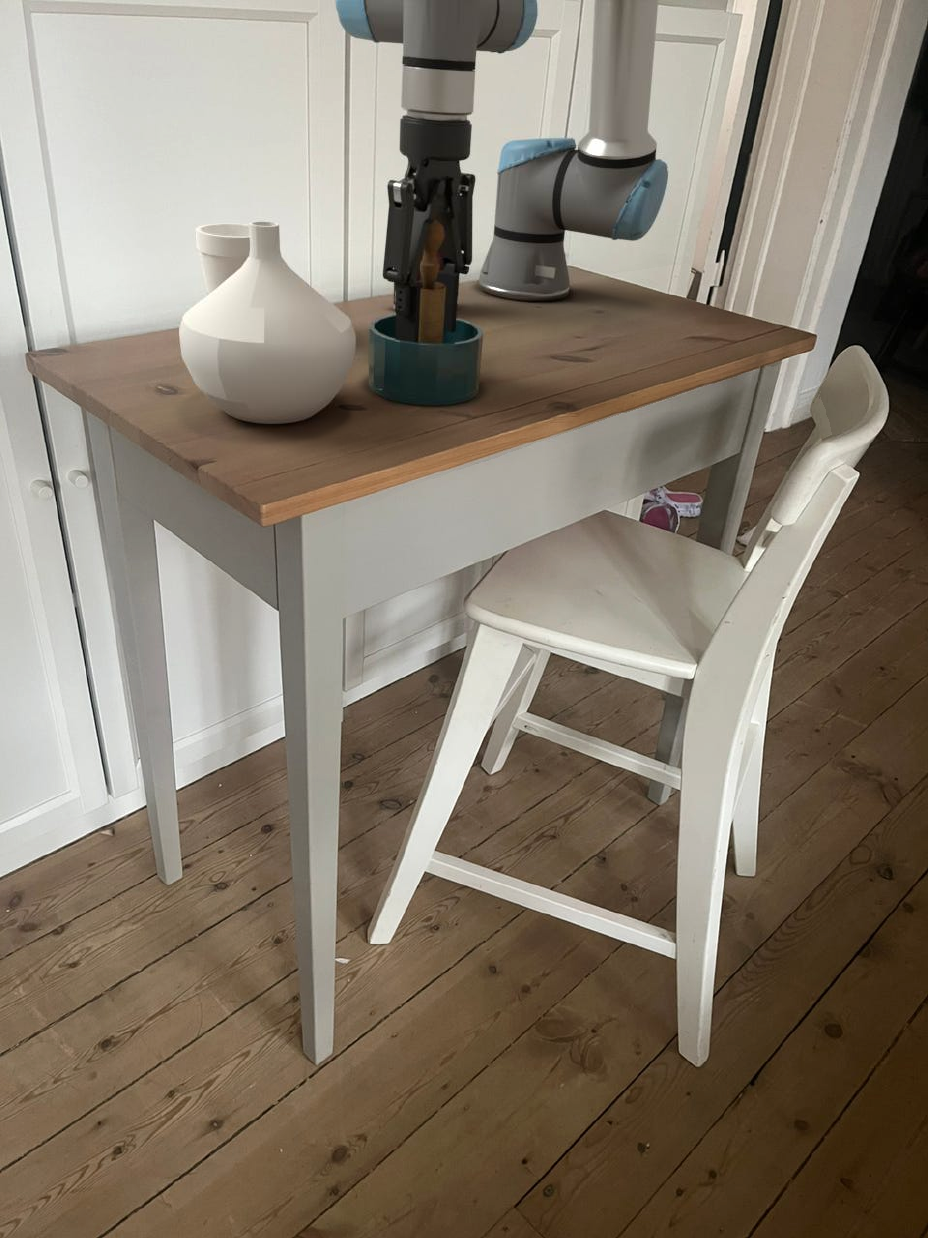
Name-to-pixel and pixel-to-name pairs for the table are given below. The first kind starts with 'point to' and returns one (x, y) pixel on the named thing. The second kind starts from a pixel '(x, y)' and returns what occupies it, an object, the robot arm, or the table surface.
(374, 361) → the crock
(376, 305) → the table surface
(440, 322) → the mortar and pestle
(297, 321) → the vase
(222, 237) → the foam cup
